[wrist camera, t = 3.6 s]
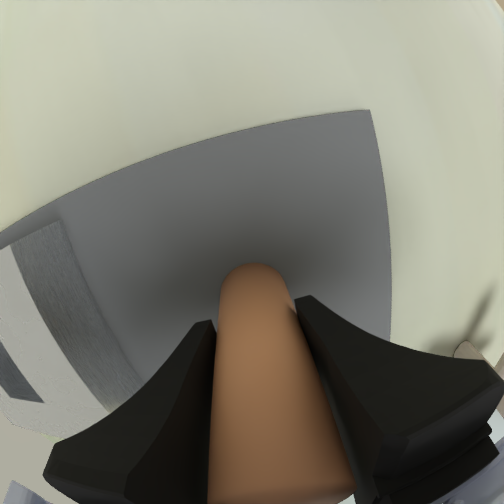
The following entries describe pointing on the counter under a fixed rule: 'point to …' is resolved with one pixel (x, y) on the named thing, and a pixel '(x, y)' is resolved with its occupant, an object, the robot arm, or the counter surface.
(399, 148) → the counter surface
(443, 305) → the counter surface
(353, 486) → the pin
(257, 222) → the rubber mat
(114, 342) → the hole block
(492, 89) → the counter surface
